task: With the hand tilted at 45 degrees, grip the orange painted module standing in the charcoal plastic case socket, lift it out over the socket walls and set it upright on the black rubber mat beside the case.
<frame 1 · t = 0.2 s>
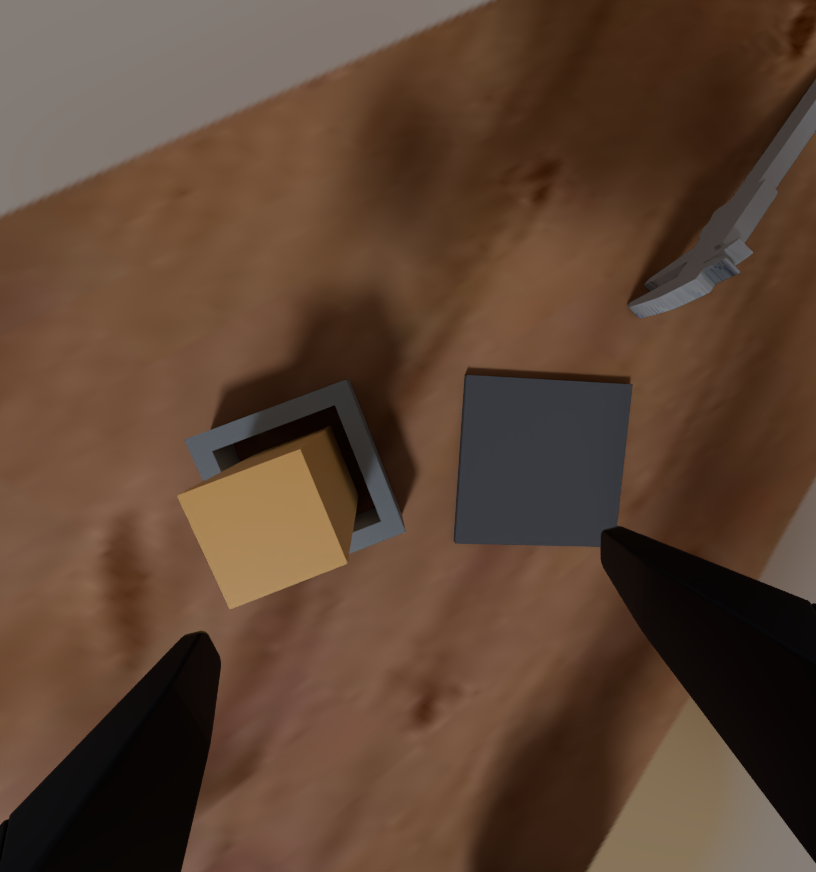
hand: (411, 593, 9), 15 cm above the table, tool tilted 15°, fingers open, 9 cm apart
mat: (540, 462, 25), on the table
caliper: (736, 181, 24), on the table
module: (291, 495, 19), in the equipment case
equipment case: (308, 475, 24), on the table
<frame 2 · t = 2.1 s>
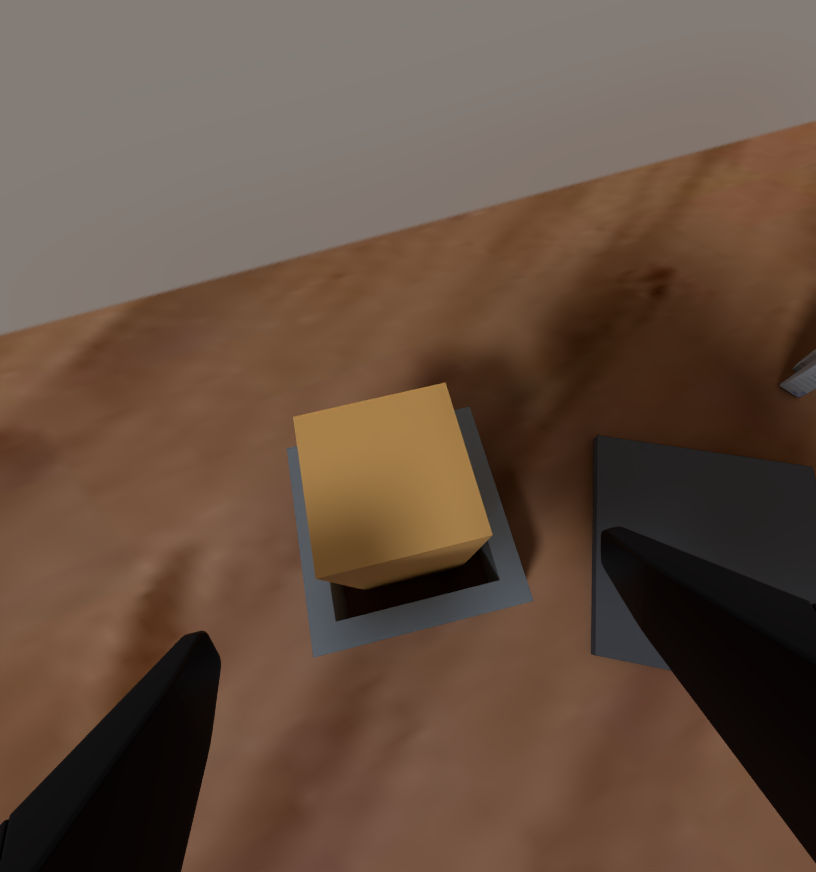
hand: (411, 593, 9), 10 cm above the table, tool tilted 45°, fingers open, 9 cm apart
mat: (704, 555, 19), on the table
module: (397, 509, 15), in the equipment case
equipment case: (403, 530, 20), on the table
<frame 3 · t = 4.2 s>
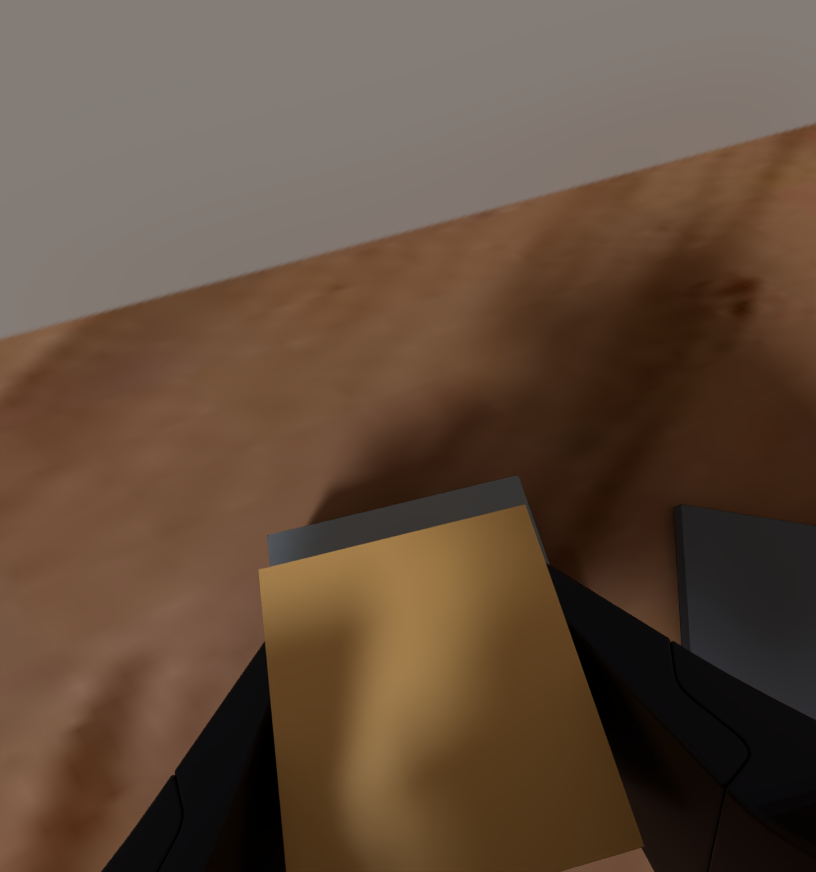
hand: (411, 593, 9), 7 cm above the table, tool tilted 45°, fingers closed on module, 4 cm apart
module: (426, 651, 10), in the equipment case, touching gripper
equipment case: (425, 636, 15), on the table
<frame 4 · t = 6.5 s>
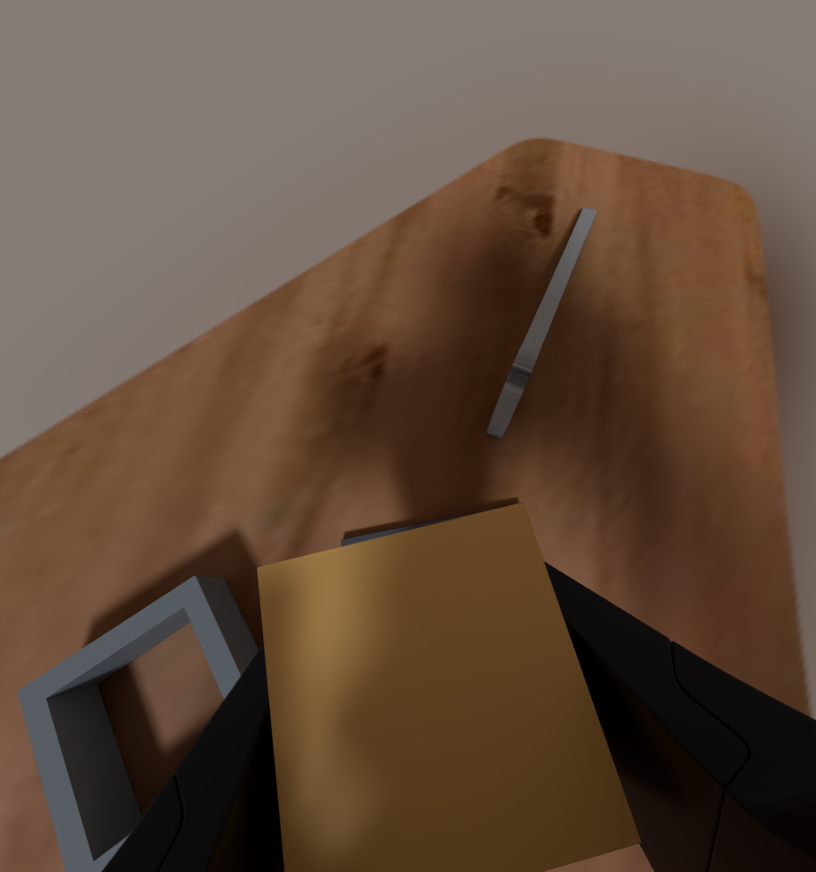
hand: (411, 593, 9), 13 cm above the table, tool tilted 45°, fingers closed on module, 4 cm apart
mat: (450, 619, 21), on the table
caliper: (544, 315, 28), on the table
module: (425, 650, 10), point 12 cm above the table, touching gripper
equipment case: (181, 704, 20), on the table
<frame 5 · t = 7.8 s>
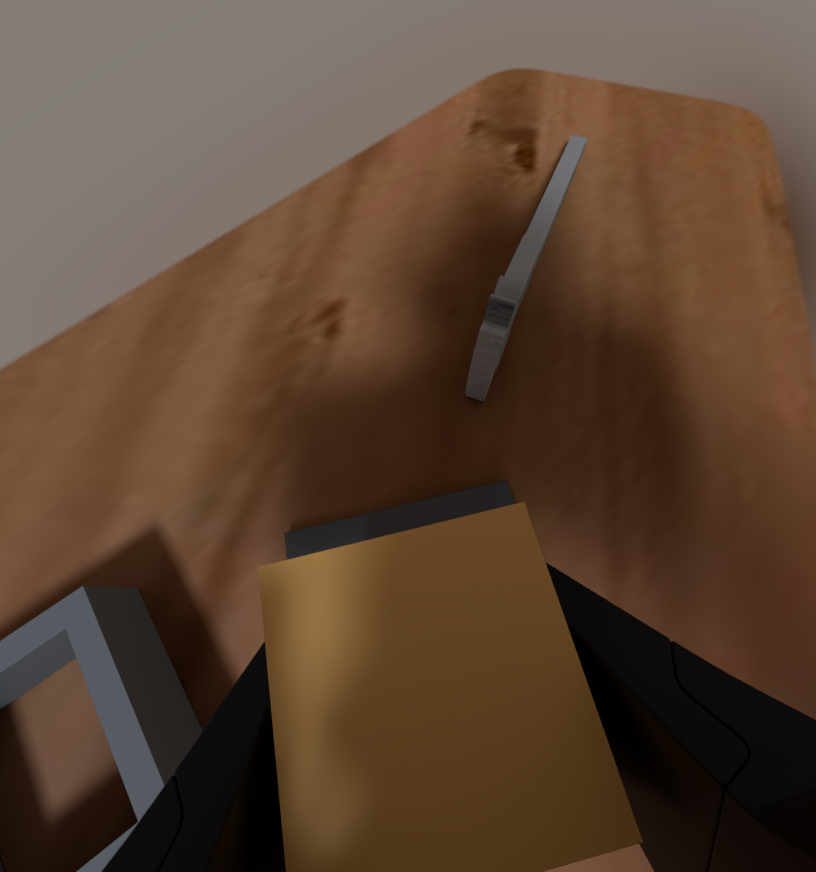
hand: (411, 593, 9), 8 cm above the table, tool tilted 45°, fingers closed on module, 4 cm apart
mat: (425, 627, 17), on the table
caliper: (531, 260, 24), on the table
module: (426, 649, 10), point 7 cm above the table, touching gripper
equipment case: (76, 756, 15), on the table
when the fingers open (8 cm above the table, at t = 8.7 s): module stays where it is, resting on mat.
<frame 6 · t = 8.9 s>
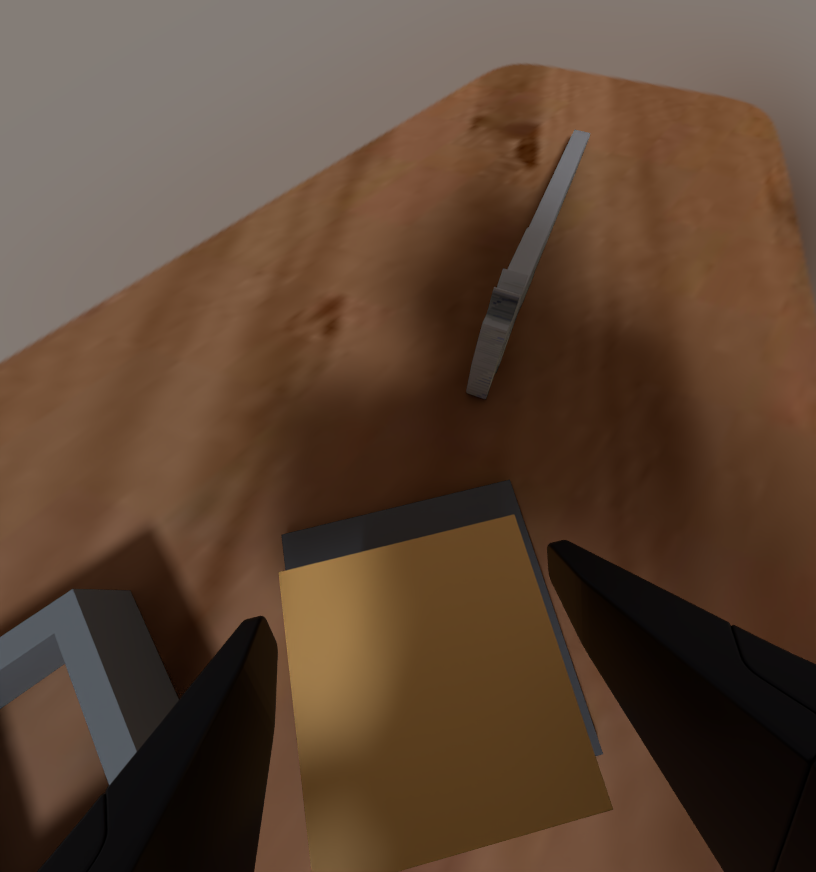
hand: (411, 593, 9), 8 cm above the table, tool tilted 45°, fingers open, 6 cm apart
mat: (425, 632, 16), on the table
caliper: (533, 256, 24), on the table
module: (426, 646, 11), on the mat
equipment case: (65, 764, 15), on the table
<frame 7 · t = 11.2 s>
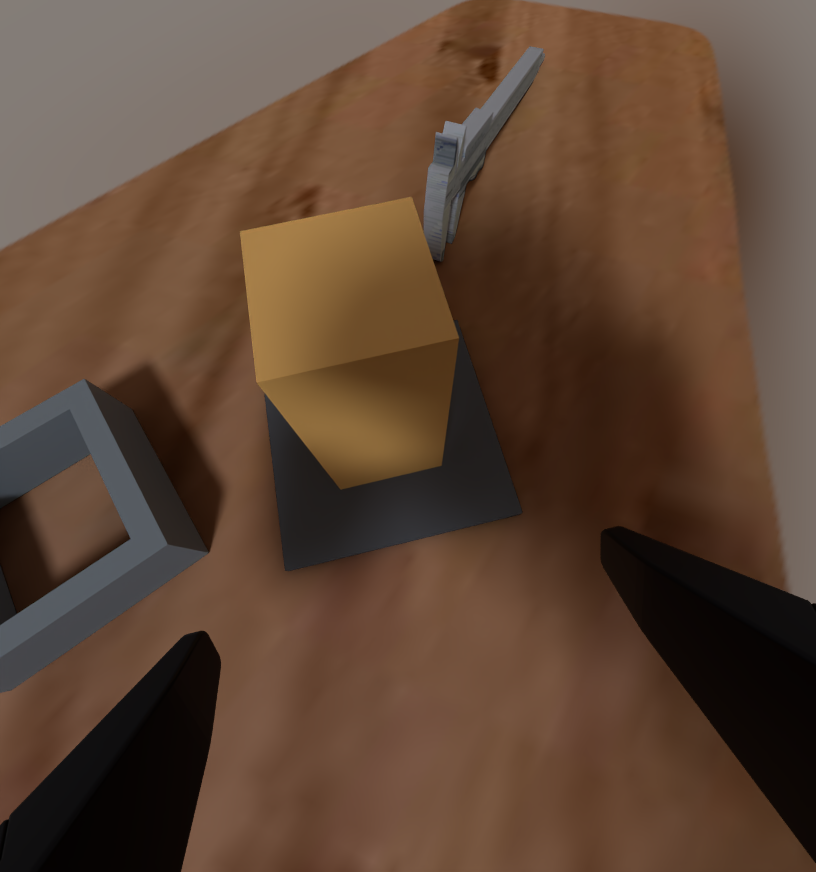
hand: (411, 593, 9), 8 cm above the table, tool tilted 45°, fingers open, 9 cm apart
mat: (381, 435, 19), on the table
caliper: (490, 154, 26), on the table
module: (367, 379, 14), on the mat
equipment case: (78, 532, 18), on the table
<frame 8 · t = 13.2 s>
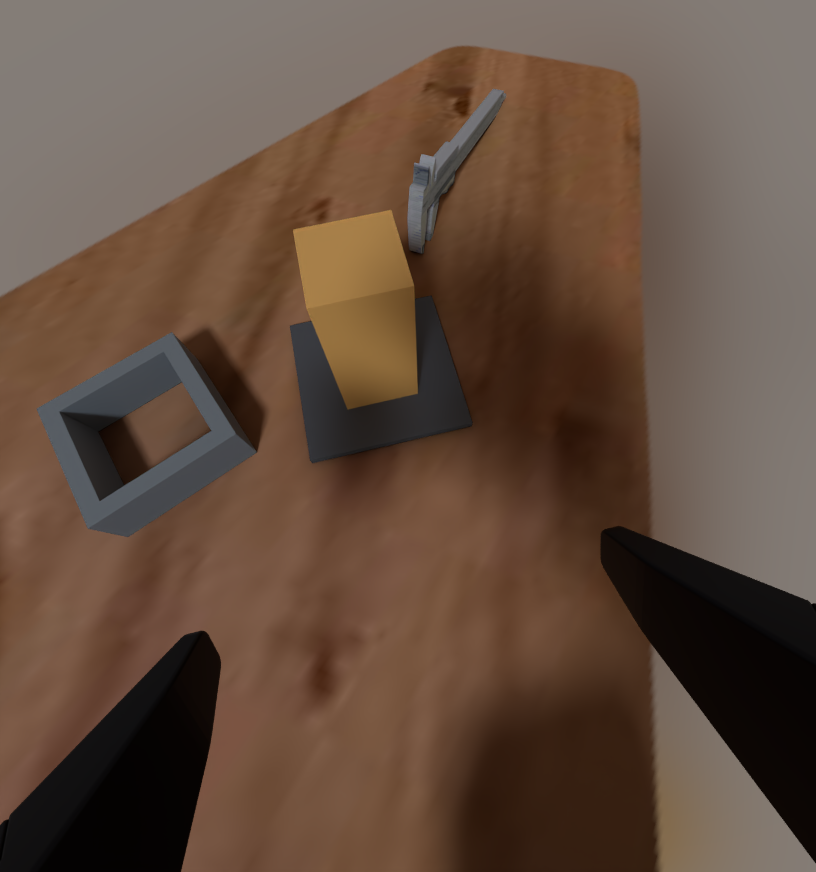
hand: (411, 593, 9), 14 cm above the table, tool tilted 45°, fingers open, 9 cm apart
mat: (376, 375, 27), on the table
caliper: (461, 173, 34), on the table
module: (365, 325, 22), on the mat
equipment case: (165, 440, 26), on the table
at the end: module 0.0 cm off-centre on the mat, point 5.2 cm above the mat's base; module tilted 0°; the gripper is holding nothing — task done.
